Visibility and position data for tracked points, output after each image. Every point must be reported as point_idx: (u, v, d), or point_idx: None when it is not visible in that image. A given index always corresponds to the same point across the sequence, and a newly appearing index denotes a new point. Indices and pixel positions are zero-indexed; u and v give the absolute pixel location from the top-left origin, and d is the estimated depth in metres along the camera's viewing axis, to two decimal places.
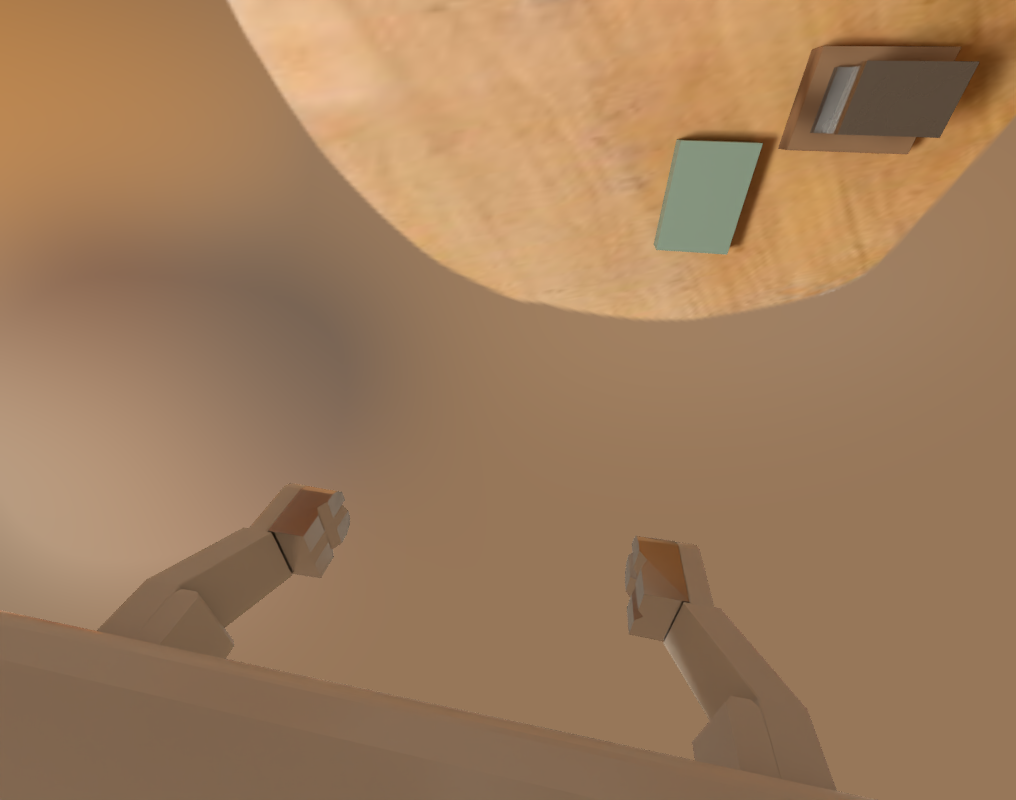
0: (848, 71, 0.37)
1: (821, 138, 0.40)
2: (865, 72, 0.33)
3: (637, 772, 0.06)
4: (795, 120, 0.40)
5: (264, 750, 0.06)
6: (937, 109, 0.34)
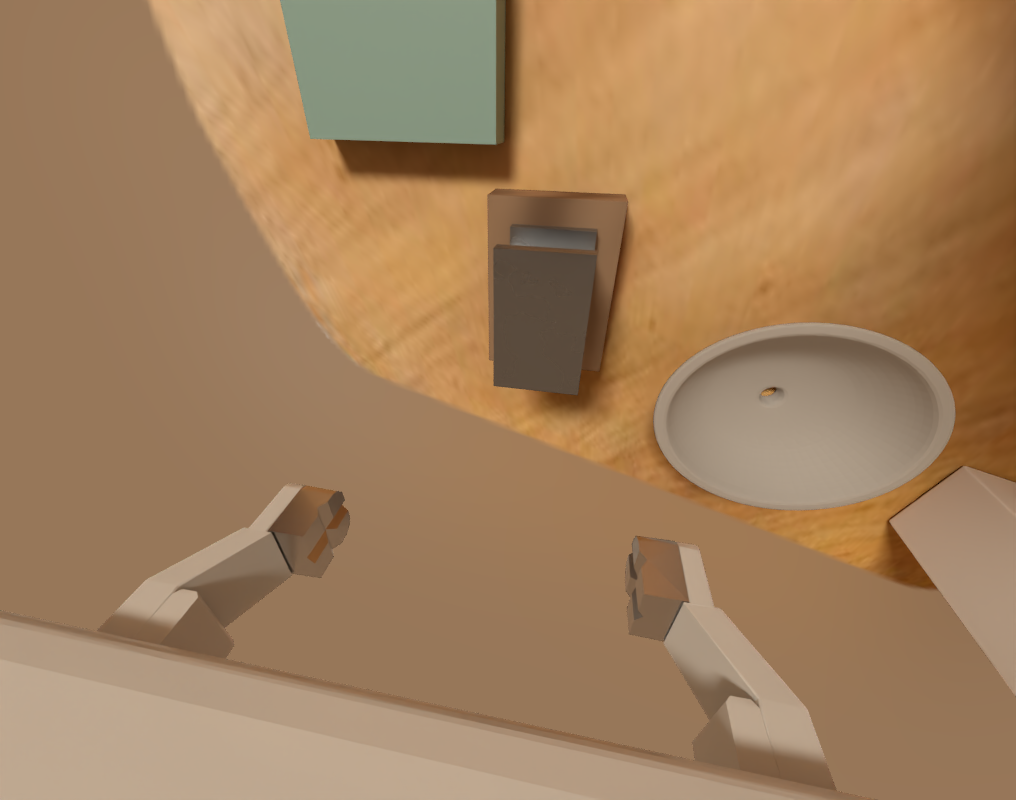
0: (588, 249, 0.24)
1: (504, 244, 0.25)
2: (580, 258, 0.19)
3: (637, 772, 0.06)
4: (531, 195, 0.24)
5: (264, 750, 0.06)
6: (526, 371, 0.24)
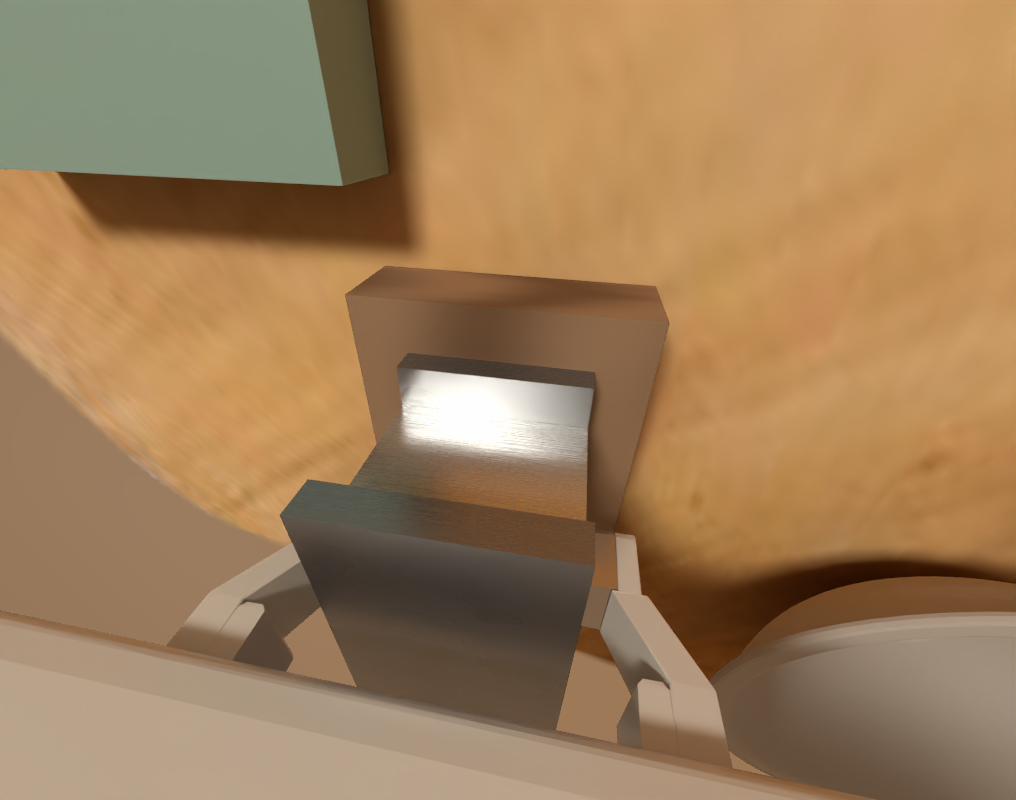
0: (576, 419, 0.10)
1: (398, 387, 0.12)
2: (543, 566, 0.06)
3: (637, 772, 0.06)
4: (447, 292, 0.11)
5: (264, 750, 0.06)
6: None
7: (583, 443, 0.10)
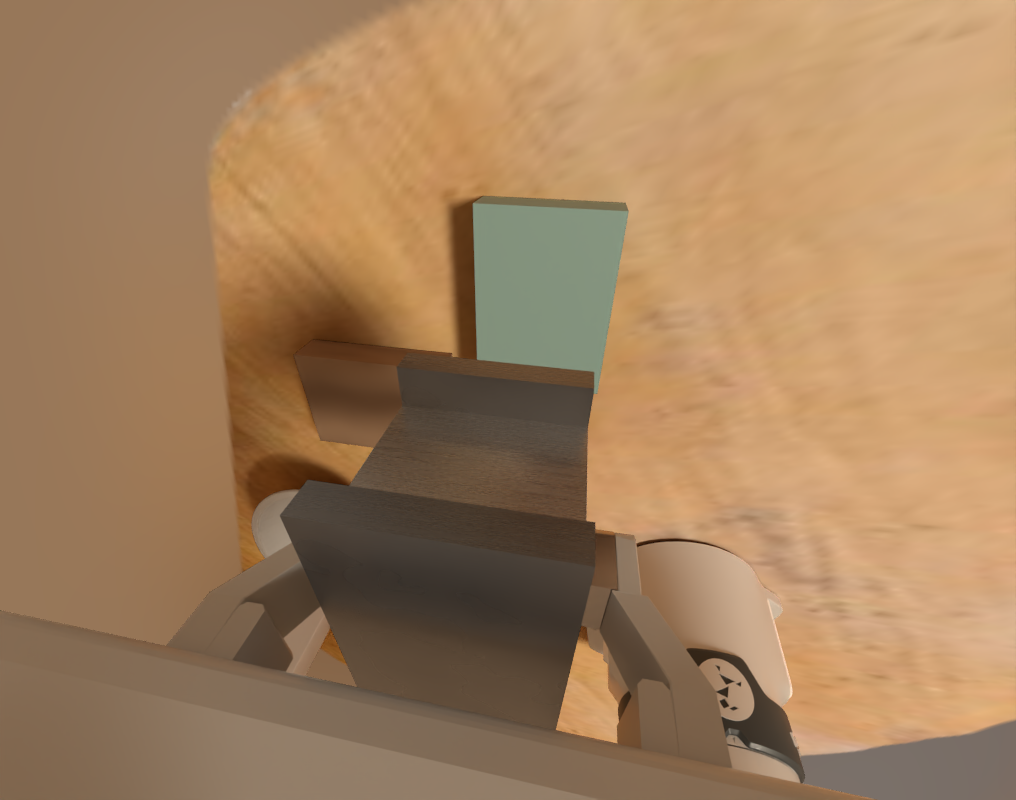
0: (576, 419, 0.10)
1: None
2: (543, 566, 0.06)
3: (637, 772, 0.06)
4: None
5: (264, 750, 0.06)
6: None
7: (583, 443, 0.10)
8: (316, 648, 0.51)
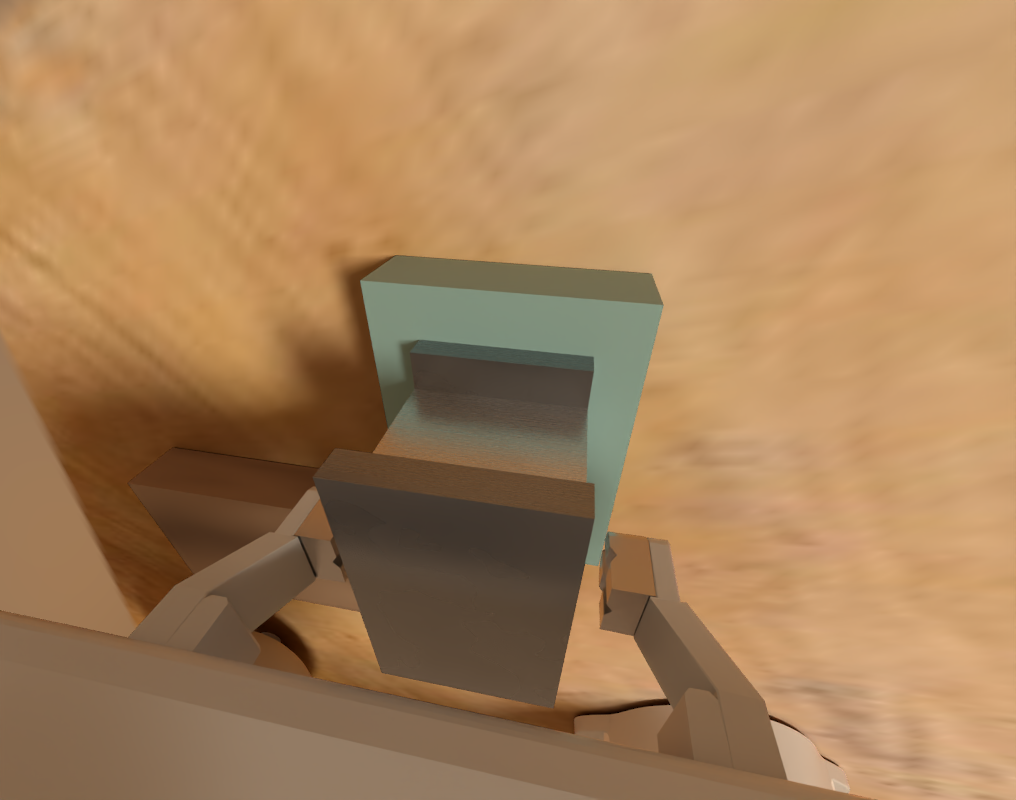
0: (576, 400, 0.11)
1: None
2: (548, 520, 0.07)
3: (637, 772, 0.06)
4: None
5: (264, 750, 0.06)
6: (442, 666, 0.11)
7: (583, 422, 0.11)
8: None
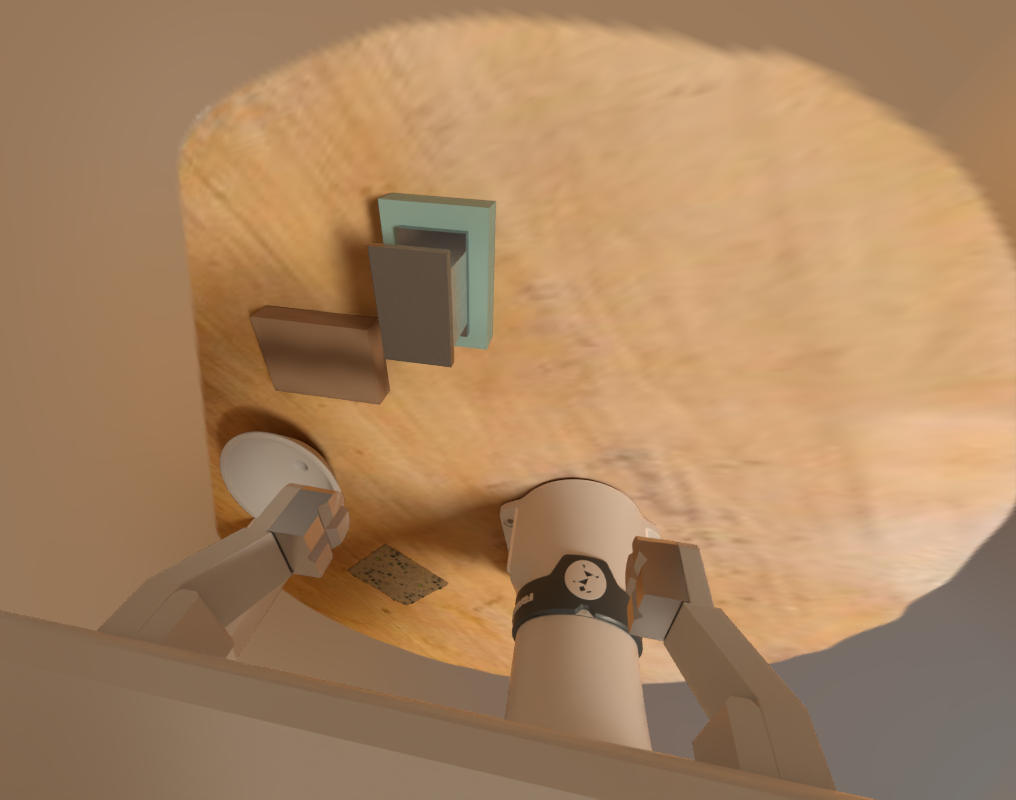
0: (461, 247, 0.29)
1: (340, 337, 0.36)
2: (434, 255, 0.25)
3: (637, 772, 0.06)
4: (374, 351, 0.37)
5: (264, 750, 0.06)
6: (408, 346, 0.29)
7: (462, 253, 0.29)
8: None
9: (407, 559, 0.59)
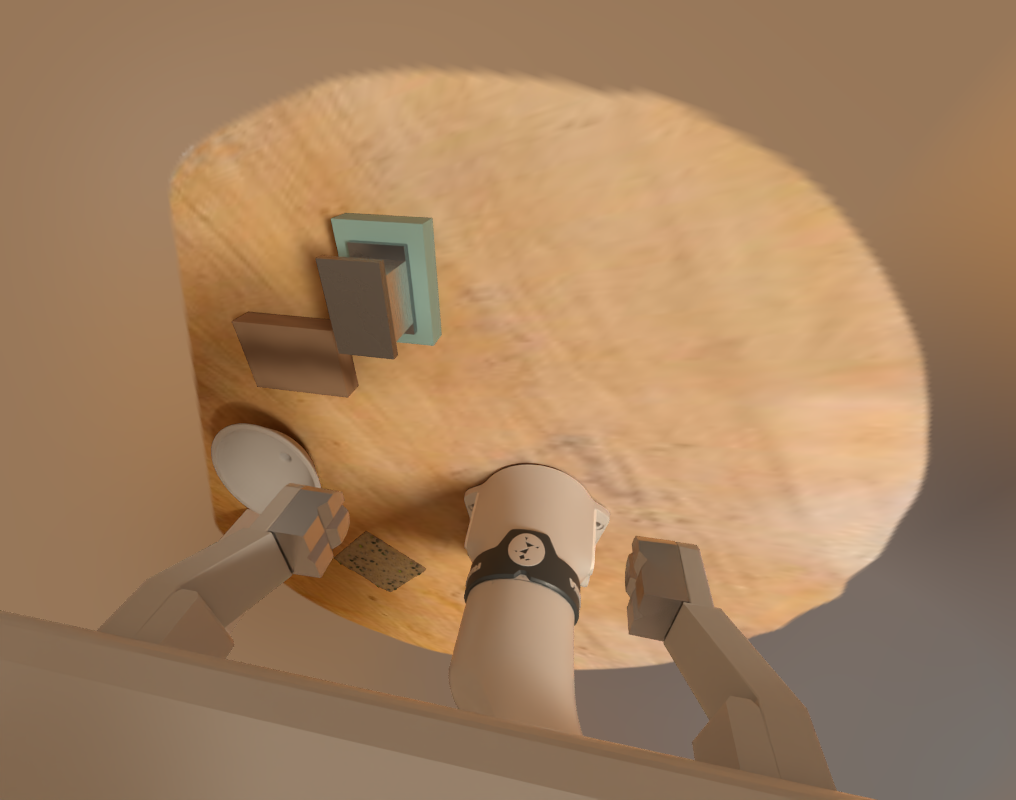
0: (401, 258, 0.34)
1: (309, 338, 0.41)
2: (369, 265, 0.30)
3: (637, 772, 0.06)
4: None
5: (264, 750, 0.06)
6: (357, 342, 0.34)
7: (401, 263, 0.34)
8: None
9: (387, 545, 0.64)
